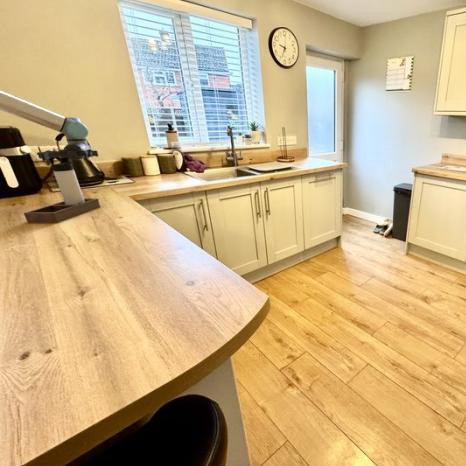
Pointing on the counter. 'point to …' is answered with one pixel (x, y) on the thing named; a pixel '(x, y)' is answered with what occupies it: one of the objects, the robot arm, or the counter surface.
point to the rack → (60, 211)
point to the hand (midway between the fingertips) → (64, 156)
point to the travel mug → (68, 183)
